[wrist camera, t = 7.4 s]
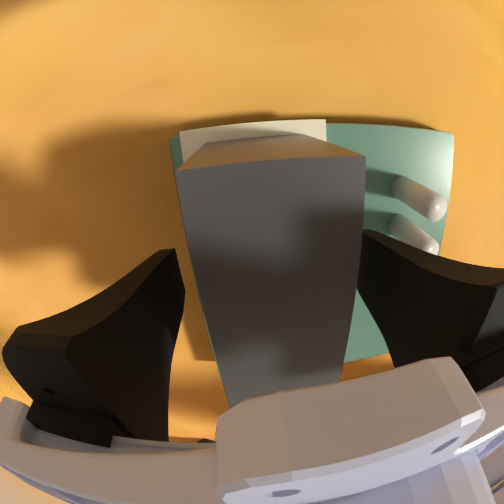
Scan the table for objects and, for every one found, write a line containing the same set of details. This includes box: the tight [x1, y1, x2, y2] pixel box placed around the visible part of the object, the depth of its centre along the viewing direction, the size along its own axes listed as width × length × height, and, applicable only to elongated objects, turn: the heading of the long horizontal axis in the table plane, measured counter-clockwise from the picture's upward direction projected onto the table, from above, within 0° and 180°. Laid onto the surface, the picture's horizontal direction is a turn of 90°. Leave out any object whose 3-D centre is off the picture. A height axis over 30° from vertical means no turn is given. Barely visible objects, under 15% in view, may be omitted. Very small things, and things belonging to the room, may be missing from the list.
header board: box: [169, 119, 454, 378], centre depth 14 cm, size 15×14×4 cm
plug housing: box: [175, 134, 366, 409], centre depth 10 cm, size 9×4×6 cm, turn 5°
